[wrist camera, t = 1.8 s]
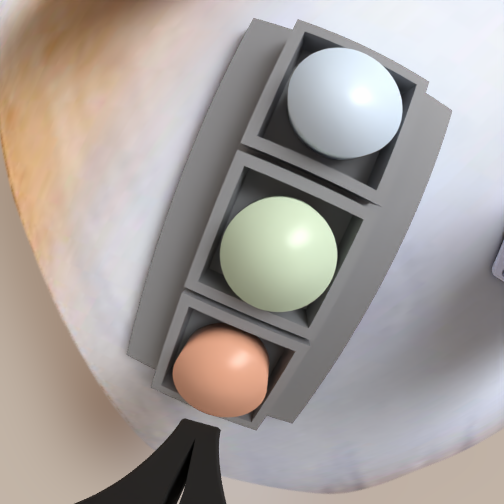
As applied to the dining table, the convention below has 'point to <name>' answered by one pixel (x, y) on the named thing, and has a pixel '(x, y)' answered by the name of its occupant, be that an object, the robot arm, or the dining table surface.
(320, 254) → the sage button
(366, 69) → the pale blue button
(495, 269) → the robot arm
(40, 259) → the dining table surface
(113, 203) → the dining table surface
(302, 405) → the button panel
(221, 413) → the terracotta button
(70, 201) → the dining table surface
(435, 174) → the dining table surface
